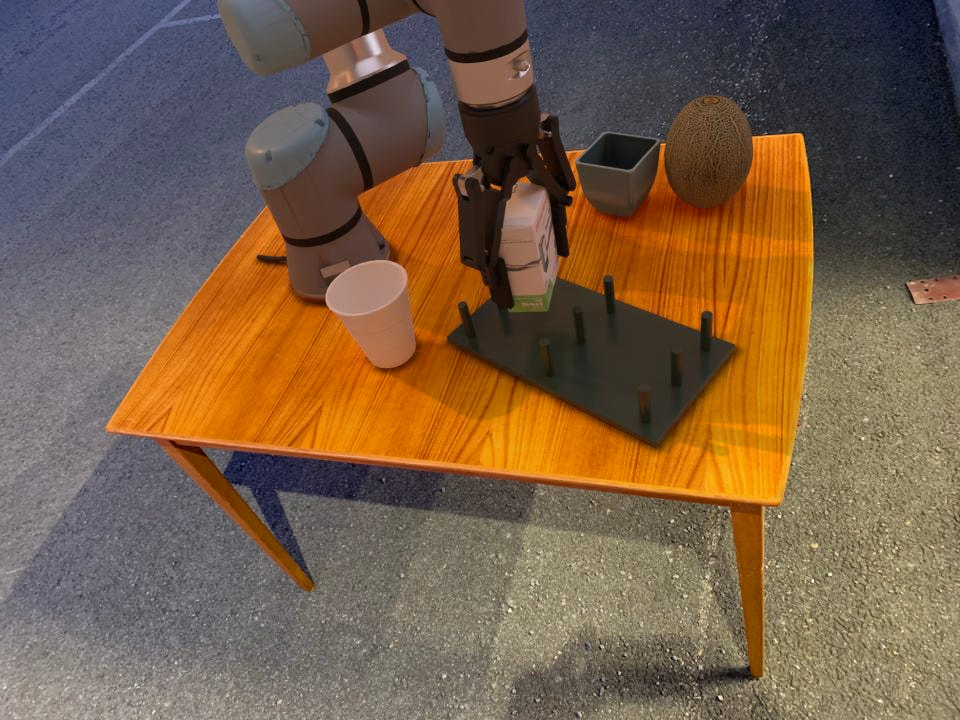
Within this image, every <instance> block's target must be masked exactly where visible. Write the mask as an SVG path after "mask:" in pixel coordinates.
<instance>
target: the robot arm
mask: <svg viewBox="0 0 960 720" xmlns="http://www.w3.org/2000/svg"><path fill="white" fill-rule="evenodd" d="M216 3H217V10H218V13H219V16H220V19H221V22H222V24H223V27H224V29H225V31H226V33H227V36H228V38H229V39H230V42H231V44H232V45H233V47H234V48H235V50H236V51H237V53H238V56H239V57H240V59H241V61H242V62H243V63H244V65H245V66H246V67H247V68H248V69H249V71H251V72H252V73H253V74H255V75H257V76H260V77H270V76H273V75H276V74H278V73H282V72H284V71H287V70H291V69H293V68H297V67H300V66H301V67H302V66H304V65H305V64H306V63H308V62H309V61H312V60H315V59H316V58H318V57H322V60H323V61H324V63H325V65H326V68H327V70H328V72H329V79H328V83H327V87H326V90H325V93H326V95H327V97H328V99H329V102H330V103H331V106H329V107H327V108H326V109H325V108H323V106H321V105H320V104H318V103H315V102H300V103H298V104H297V105H289V106H287V107H284V108H282V109H280V110H278V111H276V112H274V113H273V114H271V115H270V116H268V117H267V118H265V119H264V120H263V121H261V122H260V123H259V124H258V125H257V126H256V127H255V128H254V129H253V131H252V132H251V133H250V135H249V137H248V138H247V140H246V143H245V146H244V157H245V160H246V161H245V162H246V163H247V166H248V168H249V171H250V173H251V176H252V180H253V183H254V185H255V186H256V188H257V189H258V190H259V191H260V193H261V196H262V198H263V199H264V202H265V204H266V207H267V208H268V210H269V212H270V214H271V216H272V218H273V220H274V222H275V224H276V226H277V228H278V231H279V233H280V234H281V237H282V240H283V241H284V243H285V244H284V245H285V255H280V256H274V255H273V256H271V255H264V254H257V255H256V259H257V260H258V261H263V262H264V261H265V262H271V263H273V262H274V263H281V262H286V265H287V273H288V280H289V283H290V284H291V287H292V288H293V290H294V292H295V294H296V295H297V296H298V297H299V298H300V299H302V300H303V301H306V302H309V303H313V304H327V303H326V292H327V289H328V287H329V286H330V284H331V283H332V282H333V280H334V279H335V278H336V277H338V276H339V275H340V274H341V273H343V272H344V271H346V270H347V269H349V268H351V267H353V266H355V265H358V264H361V263H364V262H368V261H375V260H386V261H392V262H393V253H392V250H391V248H390V244H389V242H388V240H387V239H386V238H385V236H384V235H383V233H382V232H381V231H380V230H379V229H378V228H377V227H376V225H375V224H374V223H373V222H372V221H371V219H370V218H369V217H368V216H367V215H366V214H365V213H364V211H363V208H362V206H361V204H360V200H359V196H360V195H362V194H364V193H366V192H368V191H369V190H372V189H374V188H376V187H378V186H379V185H382V184H384V183H386V182H387V181H389V180H391V179H393V178H394V177H397V176H398V175H400V174H403V173H404V172H406V171H409V170H410V169H412V168H418V167H420V166H421V165H422V164H423V163H425V162H426V161H427V160H429V159H431V158H433V157H434V156H435V155H437V154H438V153H440V151H441V150H442V148H443V147H444V144H445V141H446V135H447V121H446V119H447V118H446V114H445V108H444V106H443V101H442V98H441V95H440V92H439V90H438V88H437V86H436V84H435V82H434V81H432V79H431V76H430V75H429V73H427V71H426V70H424V69H423V68H421V67H415V66H410V63H409V61H408V58H407V56H406V55H405V54H403V53H401V52H399V51H396V50H394V49H393V48H392V47H391V46H390V44H389V42H388V40H387V37H386V35H385V33H384V30H383V28H386V27H388V26H390V25H392V24H394V23H397V22H399V21H401V20H403V19H405V18H408V17H410V16H413V15H416V14H419V13H421V14H424V15H428V17H429V16H430V17H432V18H436V21H437V24H438V28H439V32H440V36H441V40H442V44H443V46H444V47H443V49H444V54H445V57H446V61H447V66H448V71H449V75H450V80H451V85H452V89H453V93H454V97H455V98H456V99H457V100H458V102H457V109H458V113H459V117H460V121H461V126H462V129H463V135H464V136H465V139H466V140H467V142H468V143H469V145H470V147H471V148H472V154H473V155H472V166H471V167H470V168H469V169H468V170H467V171H466V172H465V173H463V174H462V173H459V172H456V173H454V174H453V176H452V178H451V183H452V185H453V188H454V191H455V194H456V197H457V198H456V199H457V216H458V218H457V219H458V237H459V239H458V240H459V257H460V258H459V259H460V263H461V265H463V266H465V267H468V268H470V269H473V270H475V271H478V272H479V273H480V277H481V280H482V284H483V285H484V286H485V287H488V291H489V295H490V297H491V299H492V302H494V303H496V304H499V305H501V306H503V307H505V308H508V309H512V308H513V307H514V306H515V305H514V301H513V296H512V292H511V287H510V283H509V278H508V274H507V269H506V265H505V260H504V259H502V258H500V257H498V255H499V249H500V242H501V236H502V231H501V229H503V223H504V216H505V209H506V203H507V201H508V200H510V199H511V196H512V189H513V186H514V185H515V184H516V183H519V180H520V179H523V178H525V177H526V178H527V180H528V181H529V183H533V184H537V185H540V186H543V187H545V188H546V190H547V192H548V195H549V200H550V207H551V214H552V220H553V227H554V234H555V240H556V247H557V253H558V257H562V258H564V259H567V258H568V257H569V256H570V255H571V252H570V245H569V240H568V233H567V232H568V231H567V225H568V215H567V208H570V207H571V206H572V205H573V202H574V197H573V196H571V195H569V193H570V192H572V193H573V192H575V190H576V189H577V185H578V184H577V180H576V178H575V175H574V172H573V169H572V166H571V164H570V160H569V158H568V155H567V152H566V149H565V147H564V144H563V141H562V138H561V136H560V120H559V117H558V116H557V115H553V114H548V113H543V112H541V108H540V101H539V95H538V88H537V86H536V84H534V81H535V72H534V67H533V59H532V53H531V46H530V39H529V32H528V23H527V22H528V21H527V15H526V8H525V0H217V1H216ZM537 148H538V149H537ZM538 150H539V152H538ZM539 153H540V154H539ZM492 186H496V187H498V188H500V189H497V188H495V187H492ZM566 207H567V208H566Z"/></svg>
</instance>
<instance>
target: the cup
mask: <svg viewBox="0 0 960 720" xmlns="http://www.w3.org/2000/svg"><path fill="white" fill-rule="evenodd" d="M408 282H409V274H408V272H407V270H406V269H405V268H404V266H403V265H401V264H400V263H397V262H395V261H393V260H392V261H386V260H375V261H368V262H364V263H361V264H358V265H355V266H353V267H351V268H349V269H347V270H346V271H344V272H343V273H341V274H340V275H339V276H338V277H336V278H335V279H334V280H333V282H332V283H331V284H330V286H329V287H328V289H327V292H326V303H325V304H326V306H327V307H328V309H329V310H330V311H332V312H333V314H335V315H336V317H337V318H338V319H339V321H340V322H341V324H342V325H343V326H344V327H345V329H346V330H347V331H348V333H349V334H350V336H351V337H352V338H353V340H354V341H355V343H356V344H357V345H358V347H359V348H360V349H361V351H362V352H363V353H364V355H365V356H366V357H367V359H368V360H369V361H370V364H372V365H373V366H375V367H377V368H380V369H393V368H397V367H399V366H402V365H404V364H405V363H406V362H408V361H410V359H411V358H412V357H413V355H414V354H415V352H416V348H417V342H416V336H415V331H414V330H415V329H414V322H413V315H412V308H411V302H410V295H409V289H408Z"/></svg>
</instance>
